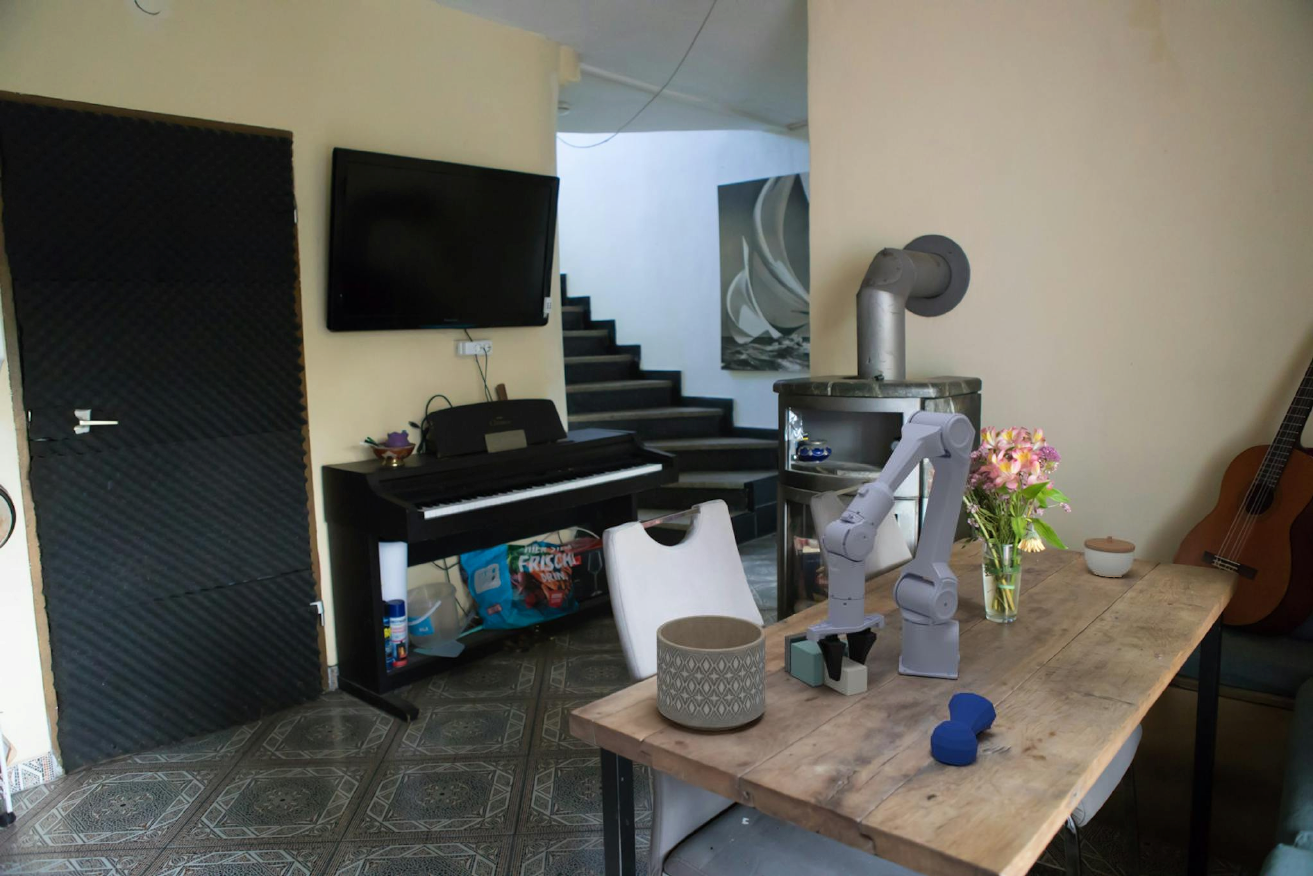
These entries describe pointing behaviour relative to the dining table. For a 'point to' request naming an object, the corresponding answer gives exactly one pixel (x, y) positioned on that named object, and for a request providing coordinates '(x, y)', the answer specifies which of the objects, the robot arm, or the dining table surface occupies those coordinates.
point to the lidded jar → (1109, 555)
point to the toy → (962, 729)
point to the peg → (848, 677)
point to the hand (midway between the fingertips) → (845, 676)
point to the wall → (788, 642)
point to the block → (809, 661)
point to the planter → (711, 671)
